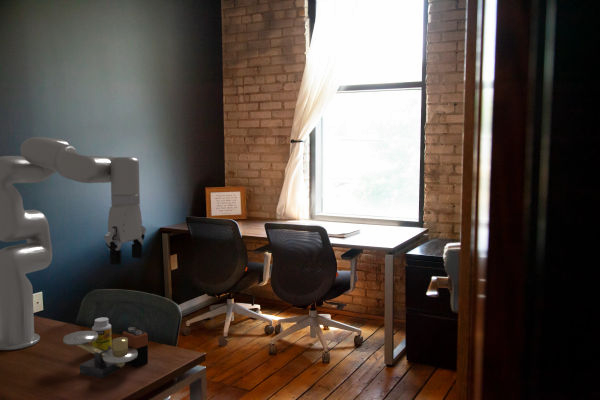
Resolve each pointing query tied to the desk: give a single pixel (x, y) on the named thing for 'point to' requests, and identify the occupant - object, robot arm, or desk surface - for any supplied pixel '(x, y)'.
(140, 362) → the battery
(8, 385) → the desk surface
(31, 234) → the robot arm
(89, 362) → the balance
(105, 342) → the supplement bottle
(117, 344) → the brass weight
